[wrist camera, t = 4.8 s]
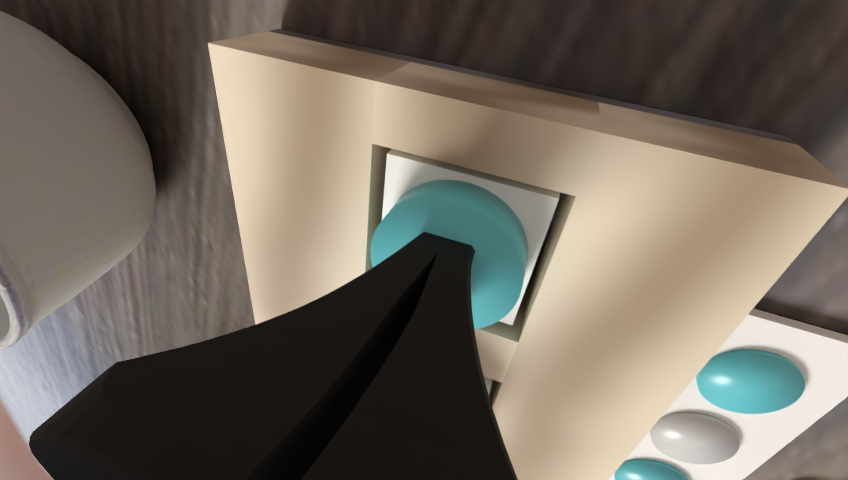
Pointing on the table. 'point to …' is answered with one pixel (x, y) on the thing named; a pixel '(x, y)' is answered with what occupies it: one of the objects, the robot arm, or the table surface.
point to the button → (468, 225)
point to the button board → (565, 239)
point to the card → (745, 402)
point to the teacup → (62, 177)
